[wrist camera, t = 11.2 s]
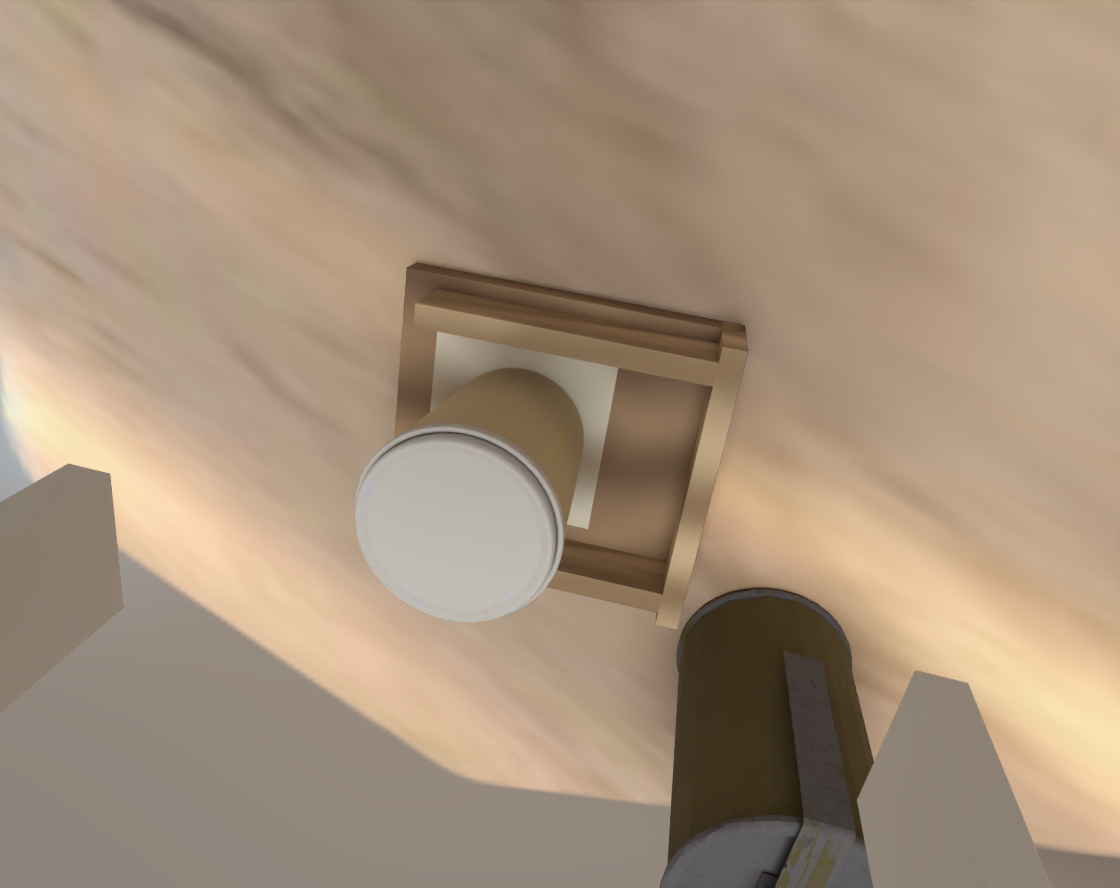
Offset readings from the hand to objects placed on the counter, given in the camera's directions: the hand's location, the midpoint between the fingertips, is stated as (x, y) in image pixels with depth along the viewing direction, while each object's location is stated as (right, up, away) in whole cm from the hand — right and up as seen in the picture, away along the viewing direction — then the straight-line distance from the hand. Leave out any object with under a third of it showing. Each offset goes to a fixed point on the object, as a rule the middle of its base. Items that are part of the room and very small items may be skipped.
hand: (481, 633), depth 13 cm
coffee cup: (-1, +4, +32) cm, 32 cm away
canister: (+14, -10, +36) cm, 40 cm away
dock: (+1, +4, +33) cm, 33 cm away
